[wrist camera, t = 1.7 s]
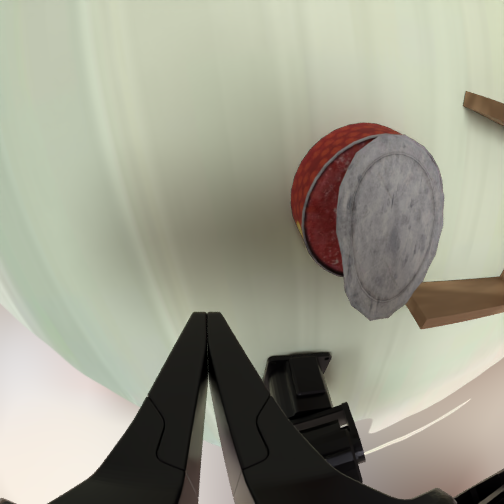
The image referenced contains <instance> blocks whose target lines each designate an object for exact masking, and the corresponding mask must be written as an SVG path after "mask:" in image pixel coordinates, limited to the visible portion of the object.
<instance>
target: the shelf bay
mask: <svg viewBox="0 0 504 504" xmlns="http://www.w3.org/2000/svg"><path fill="white" fill-rule="evenodd" d="M463 106H464V107H467V108H469V109H471V110H473V111H475V112H477V113H479V114H481V115H483V116H485V117H487V118H489V119H491V120H493V121H495V122H496V123H498V124H500V125H502V126H504V104H503V103H500V102H498V101H495V100H492V99H489V98H486V97H483V96H480V95H477V94H474V93H471V92H467V91H466V94H465V99H464V104H463ZM406 306H407V308H408V309H409V311H410V312H411V314H412V316H413V317H414V319H415V321H416V322H417V324H418V326H419V327H420V329H426V328H432V327H437V326H443V325H448V324H453V323H458V322H463V321H467V320H472V319H477V318H481V317H485V316H490V315H494V314H498V313H502V312H504V270H503V272H502V274H501V276H500V277H491V278H479V279H466V280H452V281H437V282H422V283H421V284H420V285H419V286H418V287H417V289H416V290H415V291H414V292H413V294H412V296H411V297H410V299H409V300H408V302H407V303H406Z"/></svg>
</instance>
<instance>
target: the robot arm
mask: <svg viewBox="0 0 504 504" xmlns="http://www.w3.org/2000/svg"><path fill="white" fill-rule="evenodd" d="M207 344H208V351H207ZM330 360H331V355H330V353H321V354H310V355H298V356H284V357H271V358H269V359H268V360H267V364H266V369H265V373H264V377H263V381H262V379H261V378H260V376H259V374H258V373H257V371H256V370H255V368H254V366H253V365H252V363H251V362H250V360H249V358H248V357H247V355H246V354H245V352H244V350H243V349H242V347H241V345H240V344H239V342H238V340H237V339H236V337H235V335H234V334H233V332H232V330H231V329H230V327H229V325H228V324H227V322H226V320H225V319H224V317H223V315H222V314H221V313H220V312H208V313H206V312H193V313H192V315H191V317H190V318H189V320H188V322H187V324H186V326H185V327H184V329H183V331H182V333H181V335H180V336H179V338H178V340H177V342H176V344H175V345H174V347H173V349H172V351H171V353H170V354H169V356H168V358H167V360H166V362H165V364H164V365H163V367H162V369H161V371H160V373H159V375H158V376H157V378H156V380H155V382H154V384H153V386H152V388H151V389H150V391H149V393H148V397H146V398H145V400H144V402H143V404H142V406H141V408H140V409H139V411H138V413H137V415H136V416H135V418H134V420H133V421H132V423H131V424H130V426H129V427H128V429H127V430H126V432H125V433H124V435H123V436H122V437H121V439H120V440H119V441H118V443H117V444H116V445H115V447H114V448H113V450H112V451H111V452H110V454H109V455H108V456H107V458H106V459H105V460H104V462H103V463H102V465H101V466H100V467H99V468H98V469H97V470H96V472H95V473H94V474H93V475H91V476H90V477H89V478H88V479H87V480H85V481H83V482H82V483H80V484H79V485H77V486H76V487H74V488H72V489H71V490H69V491H68V492H66V493H64V494H63V495H61V496H59V497H58V498H56V499H54V500H53V501H51V502H49V503H48V504H198V497H199V482H200V481H199V480H200V468H201V455H202V443H203V431H204V419H205V408H206V398H207V387H208V375H209V384H210V390H211V396H212V401H213V406H214V412H215V417H216V422H217V427H218V432H219V437H220V442H221V446H222V451H223V456H224V460H225V464H226V469H227V473H228V477H229V482H230V486H231V490H232V494H233V497H234V502H235V504H504V469H502V470H501V471H499V472H497V473H495V474H494V475H492V476H490V477H488V478H486V479H485V480H483V481H481V482H479V483H477V484H476V485H474V486H472V487H471V488H469V489H467V490H465V491H463V492H462V493H460V494H459V495H457V496H455V497H452V496H450V495H448V494H447V493H446V492H444V491H442V490H441V489H439V488H435V489H432V490H430V491H428V492H426V493H423V494H421V495H419V496H417V497H414V498H412V499H405V500H404V499H397V498H394V497H391V496H389V495H387V494H384V493H382V492H380V491H377V490H375V489H373V488H371V487H369V486H367V485H364V484H362V477H361V473H360V470H359V466H358V464H360V463H363V462H365V455H364V452H363V448H362V444H361V441H360V438H359V435H358V432H357V429H356V426H355V423H354V420H353V417H352V415H351V412H350V409H349V406H348V403H347V402H345V403H342V405H339V406H336V407H333V405H332V401H331V398H330V395H329V392H328V388H327V385H326V382H325V378H324V375H323V374H324V372H325V370H326V368H327V366H328V364H329V362H330ZM345 424H347V426H345V427H342V428H340V426H342V425H345ZM0 504H16V503H13V502H11V501H9V500H6V499H4V498H1V499H0Z"/></svg>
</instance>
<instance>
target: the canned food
mask: <svg viewBox="0 0 504 504" xmlns="http://www.w3.org/2000/svg"><path fill="white" fill-rule="evenodd" d="M443 207H444V193H443V184H442V178H441V174H440V171H439V168H438V166H437V164H436V162H435V160H434V158H433V156H432V155H431V154H430V153H429V152H428V151H427V150H426V148H425V147H424V146H422V145H421V144H419V143H418V142H416V141H415V140H413V139H411V138H409V137H408V136H406V135H402V134H400V133H398V132H396V131H394V130H392V129H390V128H388V127H385V126H382V125H379V124H374V123H357V124H350V125H347V126H344V127H341V128H339V129H336V130H334V131H332V132H331V133H329V134H328V135H326V136H325V137H323V138H322V139H320V140H319V141H318V142H317V143H316V144H315V145H314V146H313V147H312V148H311V149H310V150H309V152H308V153H307V154H306V156H305V157H304V159H303V160H302V161H301V163H300V166H299V168H298V170H297V172H296V174H295V177H294V181H293V185H292V189H291V208H292V214H293V218H294V220H295V223H296V225H297V227H298V229H299V231H300V234H301V236H302V238H303V240H304V242H305V245H306V247H307V250H308V252H309V254H310V255H311V256H312V258H313V259H314V261H315V262H316V263H317V264H318V265H320V266H321V267H322V268H323V269H324V270H326V271H328V272H330V273H332V274H334V275H336V276H340V277H344V286H345V292H346V294H347V297H348V299H349V301H350V303H351V306H353V307H354V308H355V309H357V310H358V311H359V312H361V313H362V314H363V315H364V316H365V317H367V318H368V319H369V320H370V321H371V320H376V319H383V318H389V317H390V316H391V315H392V314H393V313H394V312H395V311H397V310H398V309H399V308H401V307H402V306H403V305H405V304H406V303H407V302H408V300H409V299H410V297H411V296H412V294H413V292H414V291H415V290H416V289H417V287H418V286H419V285H420V284H421V283H422V281H423V280H424V277H425V275H426V273H427V270H428V268H429V266H430V264H431V262H432V260H433V258H434V257H435V255H436V251H437V246H438V241H439V238H440V234H441V231H442V228H443Z"/></svg>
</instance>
